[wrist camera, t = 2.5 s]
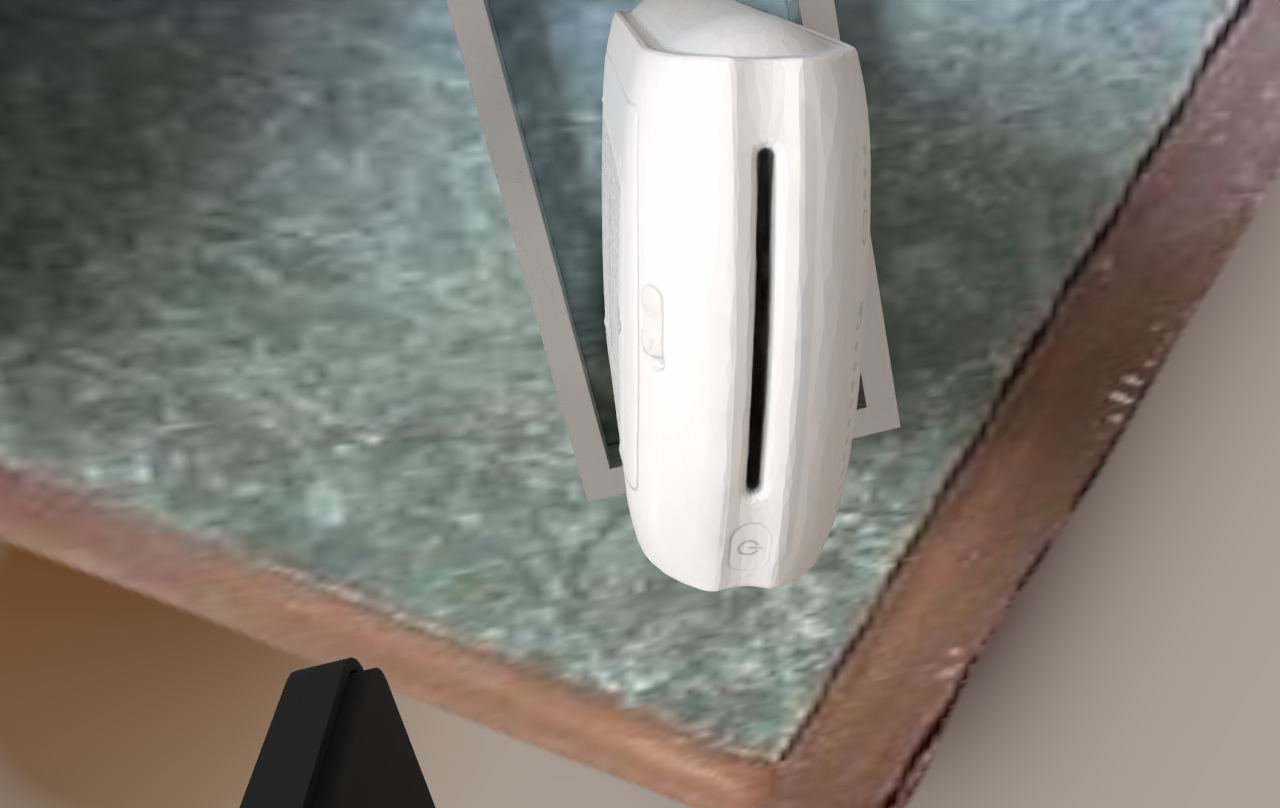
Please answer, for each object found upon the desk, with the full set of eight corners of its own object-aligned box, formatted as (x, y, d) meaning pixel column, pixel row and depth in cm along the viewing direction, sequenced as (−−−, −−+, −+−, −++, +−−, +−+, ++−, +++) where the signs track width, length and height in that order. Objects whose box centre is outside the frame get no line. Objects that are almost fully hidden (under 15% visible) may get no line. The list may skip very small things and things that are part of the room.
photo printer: (757, 385, 31) (874, 641, 20) (601, 388, 31) (627, 650, 19) (775, -14, 27) (933, 15, 16) (596, -14, 27) (626, 15, 15)
